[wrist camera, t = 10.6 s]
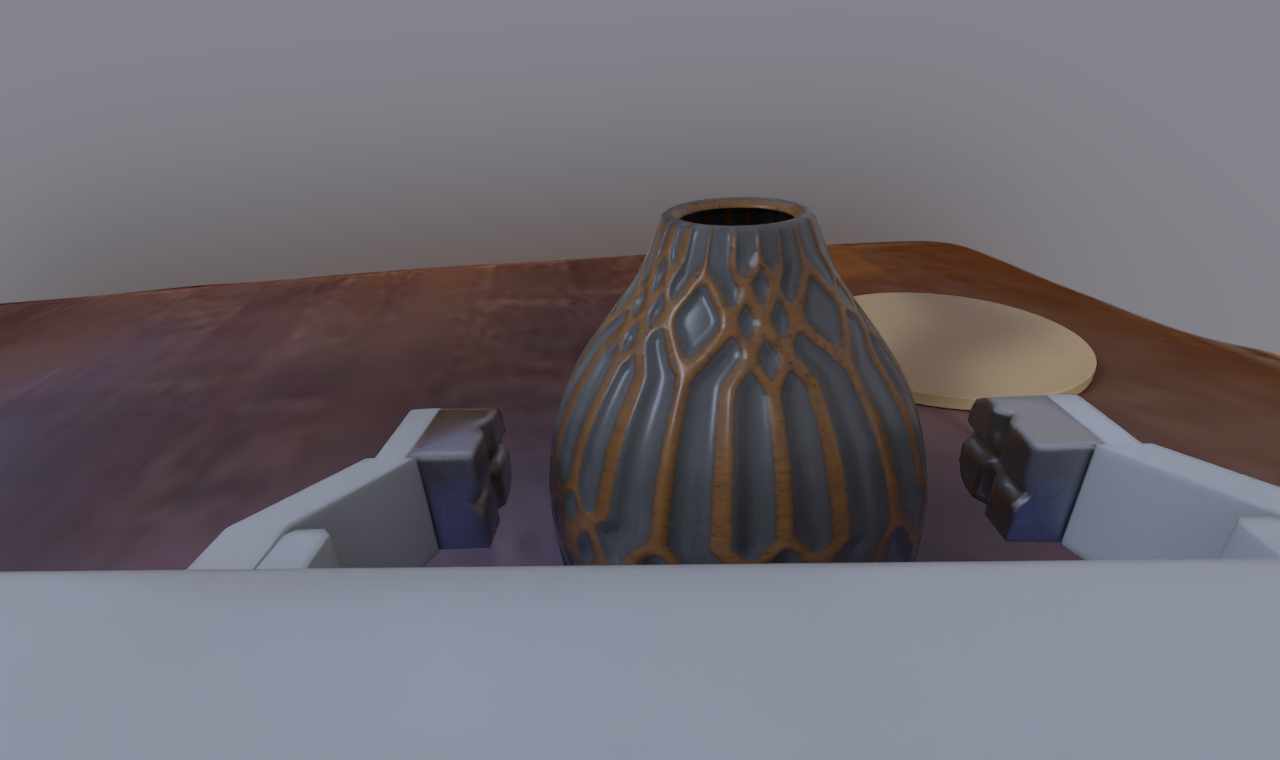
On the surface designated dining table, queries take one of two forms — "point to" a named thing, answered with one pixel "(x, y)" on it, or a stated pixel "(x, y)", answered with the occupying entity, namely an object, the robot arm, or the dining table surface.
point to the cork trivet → (977, 349)
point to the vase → (737, 407)
